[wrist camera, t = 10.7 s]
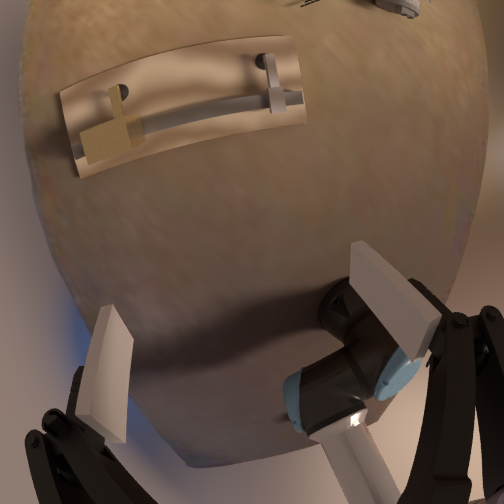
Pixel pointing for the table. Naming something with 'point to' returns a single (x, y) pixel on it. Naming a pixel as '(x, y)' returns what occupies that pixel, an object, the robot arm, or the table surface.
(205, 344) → the table surface
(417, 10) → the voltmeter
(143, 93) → the gauge board
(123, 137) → the brass sliding point
